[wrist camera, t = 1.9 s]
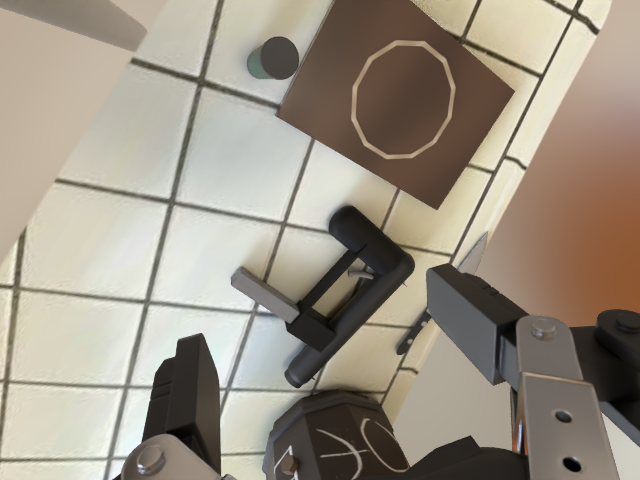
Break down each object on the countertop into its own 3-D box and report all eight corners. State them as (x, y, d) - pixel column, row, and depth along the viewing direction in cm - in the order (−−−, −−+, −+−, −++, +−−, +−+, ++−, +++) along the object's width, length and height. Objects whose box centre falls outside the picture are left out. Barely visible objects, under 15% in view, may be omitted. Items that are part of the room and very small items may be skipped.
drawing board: (274, 115, 34) (276, 116, 33) (354, -42, 31) (358, -46, 30) (432, 207, 42) (437, 210, 41) (508, 91, 39) (516, 91, 38)
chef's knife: (500, 240, 46) (486, 229, 45) (507, 243, 45) (493, 233, 44) (408, 357, 50) (392, 350, 48) (412, 362, 49) (397, 356, 47)
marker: (241, 70, 32) (253, 65, 22) (254, 44, 31) (271, 27, 21) (265, 84, 33) (287, 87, 23) (278, 60, 32) (305, 51, 22)
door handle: (193, 331, 37) (310, 398, 44) (326, 179, 35) (430, 273, 41) (196, 313, 40) (305, 378, 47) (319, 173, 38) (417, 261, 44)
